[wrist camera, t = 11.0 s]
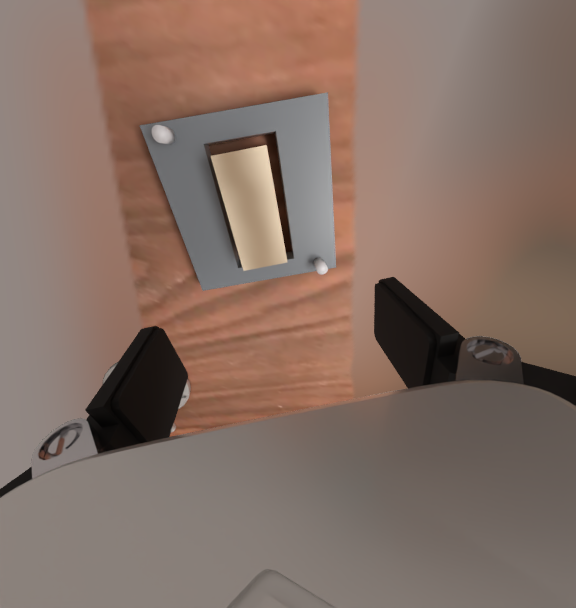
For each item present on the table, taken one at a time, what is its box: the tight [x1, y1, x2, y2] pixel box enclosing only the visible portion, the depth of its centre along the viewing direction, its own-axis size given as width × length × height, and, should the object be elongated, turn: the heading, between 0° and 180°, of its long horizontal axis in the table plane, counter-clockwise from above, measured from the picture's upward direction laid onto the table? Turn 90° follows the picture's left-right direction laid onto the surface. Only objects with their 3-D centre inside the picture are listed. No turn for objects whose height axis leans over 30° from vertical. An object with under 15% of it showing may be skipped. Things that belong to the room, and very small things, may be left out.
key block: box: [211, 145, 287, 271], centre depth 24 cm, size 4×10×6 cm, turn 10°
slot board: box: [140, 93, 336, 291], centre depth 25 cm, size 16×16×4 cm
